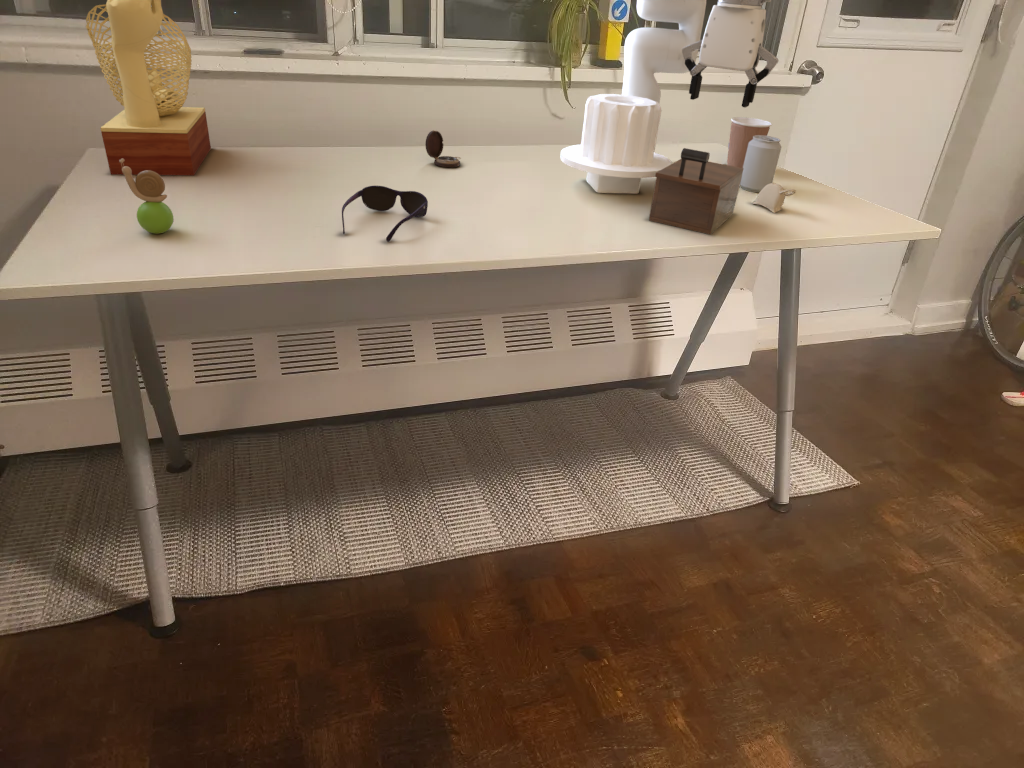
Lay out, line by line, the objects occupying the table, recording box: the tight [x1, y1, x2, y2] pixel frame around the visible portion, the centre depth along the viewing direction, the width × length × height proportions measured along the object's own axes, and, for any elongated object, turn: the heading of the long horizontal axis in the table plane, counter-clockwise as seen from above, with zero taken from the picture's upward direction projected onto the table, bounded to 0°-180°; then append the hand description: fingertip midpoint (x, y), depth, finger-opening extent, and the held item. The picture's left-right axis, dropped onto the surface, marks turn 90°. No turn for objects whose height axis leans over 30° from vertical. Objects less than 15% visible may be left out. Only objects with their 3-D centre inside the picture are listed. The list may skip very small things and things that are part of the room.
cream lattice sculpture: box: [85, 0, 212, 176], centre depth 146 cm, size 25×18×35 cm
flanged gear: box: [559, 93, 673, 195], centre depth 158 cm, size 25×25×19 cm
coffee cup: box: [726, 116, 773, 168], centre depth 184 cm, size 10×10×12 cm
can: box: [740, 135, 782, 193], centre depth 167 cm, size 8×8×12 cm
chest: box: [648, 172, 743, 235], centre depth 145 cm, size 17×13×9 cm
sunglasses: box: [341, 185, 429, 242], centre depth 128 cm, size 14×16×5 cm
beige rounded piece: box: [752, 182, 796, 214], centre depth 155 cm, size 4×8×5 cm, turn 26°
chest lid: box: [654, 147, 744, 190], centre depth 140 cm, size 18×13×6 cm
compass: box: [424, 129, 462, 168], centre depth 168 cm, size 8×8×7 cm
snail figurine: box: [119, 158, 174, 235], centre depth 116 cm, size 5×6×12 cm
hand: (719, 102), depth 131 cm, fingers open, 9 cm apart
